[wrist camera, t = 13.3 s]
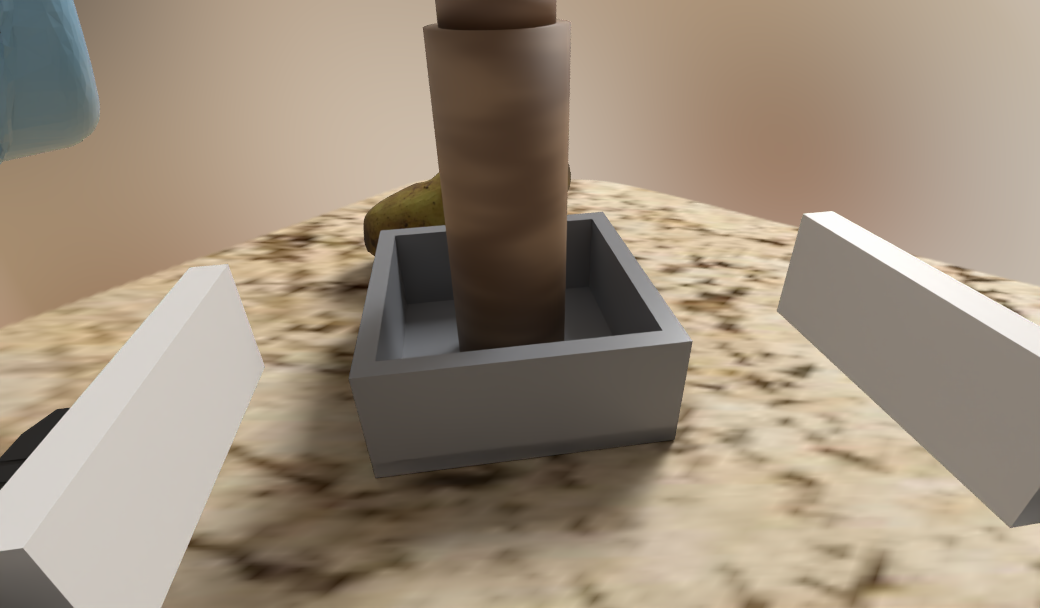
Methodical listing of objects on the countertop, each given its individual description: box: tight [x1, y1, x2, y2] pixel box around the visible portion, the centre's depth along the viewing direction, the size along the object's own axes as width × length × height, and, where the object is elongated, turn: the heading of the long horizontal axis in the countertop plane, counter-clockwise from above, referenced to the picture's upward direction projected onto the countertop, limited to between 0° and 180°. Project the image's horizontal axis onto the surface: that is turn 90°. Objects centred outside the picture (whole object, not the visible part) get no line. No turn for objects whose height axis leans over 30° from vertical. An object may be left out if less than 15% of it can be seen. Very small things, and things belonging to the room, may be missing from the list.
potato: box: [364, 164, 571, 256], centre depth 33 cm, size 8×13×8 cm, turn 78°
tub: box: [349, 212, 692, 478], centre depth 24 cm, size 12×12×5 cm
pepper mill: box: [423, 0, 571, 352], centre depth 21 cm, size 5×5×17 cm
